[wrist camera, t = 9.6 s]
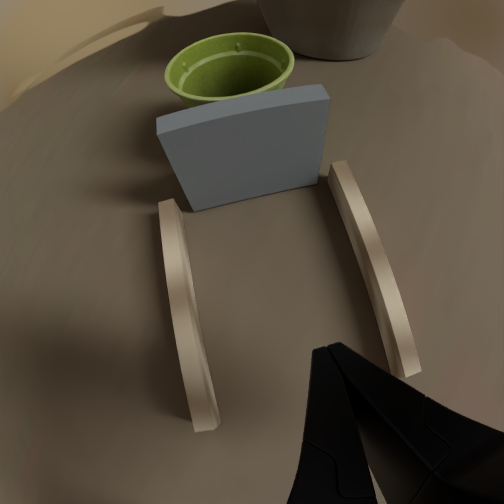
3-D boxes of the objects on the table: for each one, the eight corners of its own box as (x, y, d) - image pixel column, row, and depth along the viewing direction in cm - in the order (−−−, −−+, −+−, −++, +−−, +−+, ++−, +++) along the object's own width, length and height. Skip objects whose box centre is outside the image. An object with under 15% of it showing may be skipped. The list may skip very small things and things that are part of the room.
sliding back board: (316, 183, 24) (330, 98, 16) (193, 211, 24) (156, 134, 16) (303, 149, 26) (309, 65, 17) (188, 175, 25) (155, 96, 17)
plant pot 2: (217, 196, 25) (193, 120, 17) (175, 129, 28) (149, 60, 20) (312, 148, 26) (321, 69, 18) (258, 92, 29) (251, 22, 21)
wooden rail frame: (406, 371, 19) (421, 370, 16) (204, 425, 18) (195, 432, 16) (340, 178, 25) (345, 160, 22) (168, 218, 24) (158, 202, 22)
